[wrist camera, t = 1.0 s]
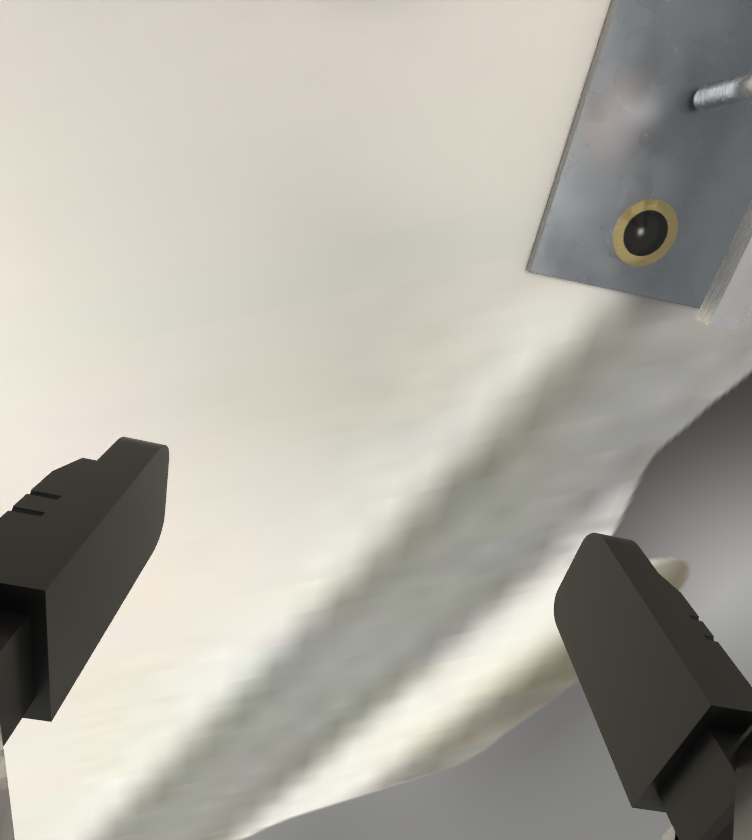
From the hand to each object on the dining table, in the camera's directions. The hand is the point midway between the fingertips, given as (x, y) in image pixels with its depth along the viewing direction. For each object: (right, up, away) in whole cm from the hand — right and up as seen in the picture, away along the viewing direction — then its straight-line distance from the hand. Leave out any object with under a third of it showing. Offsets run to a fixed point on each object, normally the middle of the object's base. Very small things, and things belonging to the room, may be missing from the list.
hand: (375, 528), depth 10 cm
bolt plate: (+18, +20, +19) cm, 32 cm away
